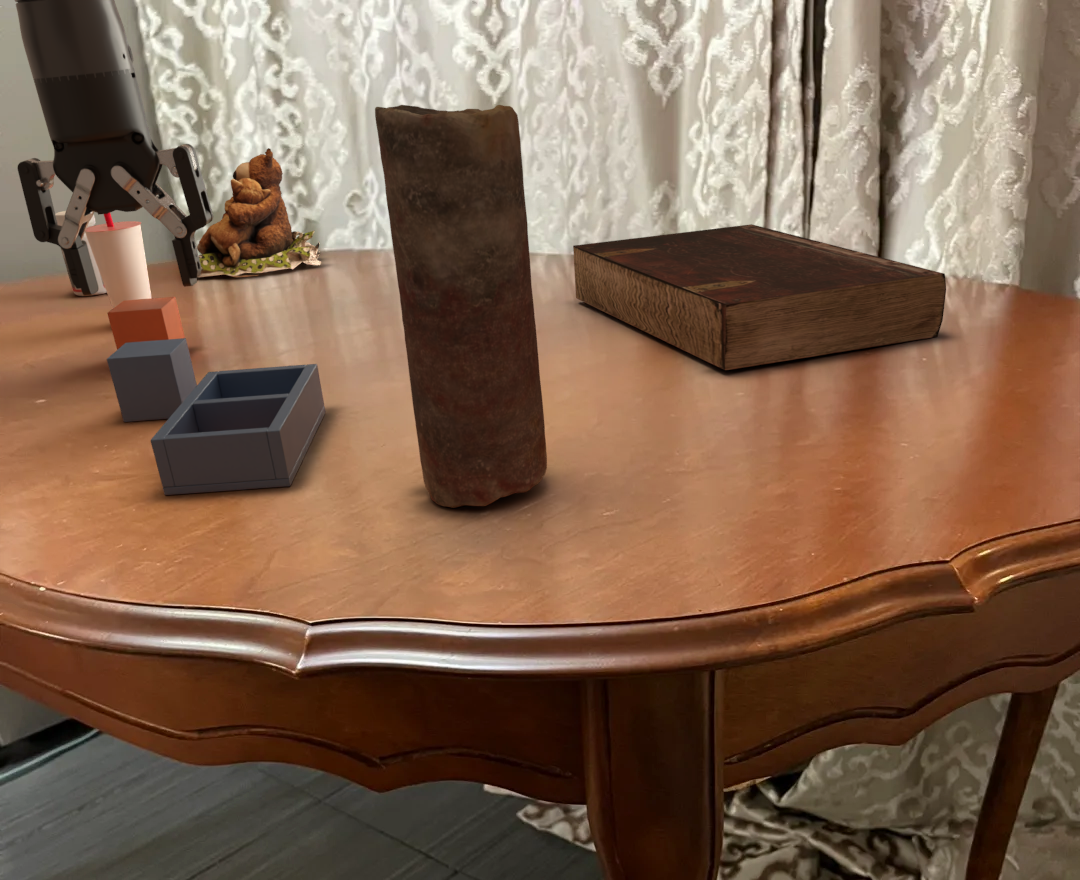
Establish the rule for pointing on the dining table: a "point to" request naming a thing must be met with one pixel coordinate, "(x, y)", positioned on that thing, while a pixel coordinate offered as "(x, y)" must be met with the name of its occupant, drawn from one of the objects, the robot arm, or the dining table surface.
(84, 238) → the pill bottle
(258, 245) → the bear figurine
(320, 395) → the tray
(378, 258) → the dining table surface
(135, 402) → the blue block
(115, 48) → the robot arm
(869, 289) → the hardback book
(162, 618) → the dining table surface
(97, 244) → the cup
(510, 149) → the brown tall block
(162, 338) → the terracotta block
